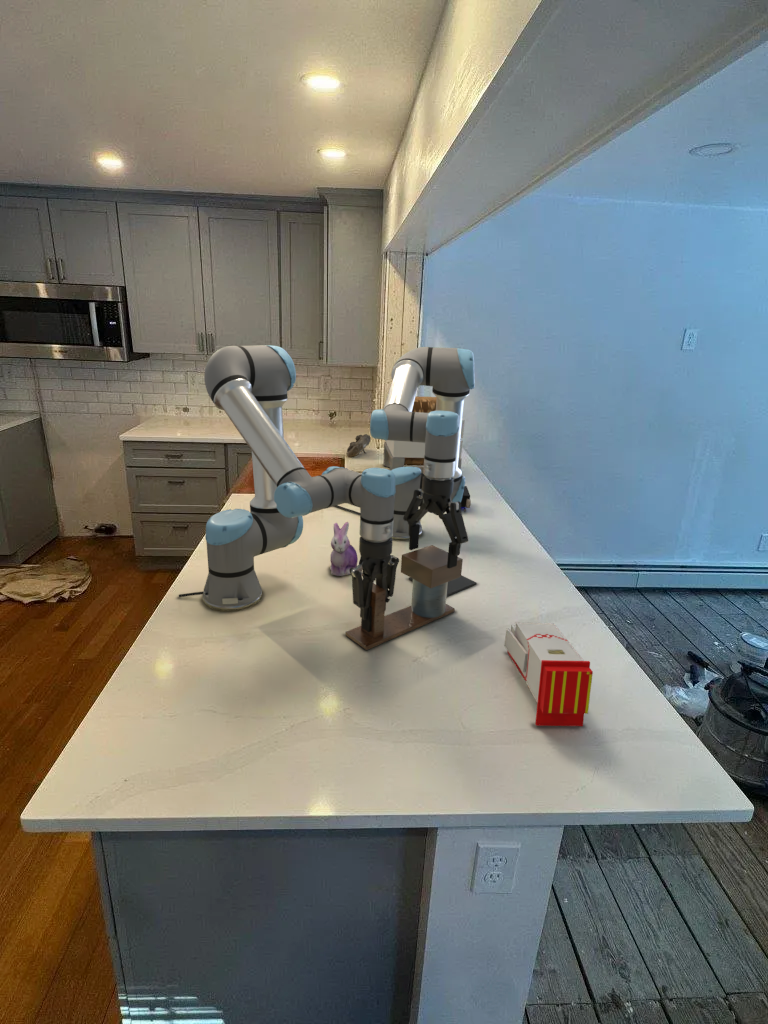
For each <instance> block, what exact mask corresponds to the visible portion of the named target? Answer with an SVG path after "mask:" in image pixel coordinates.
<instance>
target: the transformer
mask: <svg viewBox="0 0 768 1024" xmlns="http://www.w3.org/2000/svg"><path fill="white" fill-rule="evenodd" d="M436 400H437V397H436V396H417V395H416V396H415V400H414V405H413V409H412V412H421V413H430V412H432V411H436ZM464 429H465V419H464V418H462V426H461V437H460V448H459V459H458V468H459V469H460V470H461V471H462V461H463V460H462V453H463V442H464V441H463V440H462V439H463V438H464V431H465V430H464ZM424 455H425V443H421V442H409V441H393V440H387V441H386V440H384V442H383V466H384V467H388V468H389V470H390V471H391V470H393V469H396V468H400V467H405V466H406V467H417V466H418V467H424Z"/></svg>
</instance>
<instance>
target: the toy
mask: <svg viewBox="0 0 768 1024" xmlns="http://www.w3.org/2000/svg"><path fill="white" fill-rule="evenodd" d="M503 645H504V647H505V649H506V650H507V655H508V656H509V658H510V659H511V662H513V664H514V666H515V667H516V669H517V670H518V672H519V673H520V675H521V676H522V679H523V680H524V681H525V683H526V686H527V687H528V689H529V690H530V693H531V694H532V696H533V698H534V700H535V701H536V703H537V704H536V714H535V722H534V723H535V726H537V727H541V726H542V727H583V726H584V719H585V715H586V714H587V715H588V714H589V706H590V705H589V704H590V699H591V691H592V683H593V682H592V681H593V674H594V673H593V672H594V671H593V670H592V669H591V668H590V667H591V661H590V660H584V659H583V658H582V657H581V655H580V654H579V653H578V651H577V650H576V649H575V648H574V647H573V645H572V644H571V643H570V642H569V640H568V639H567V638H566V636H564V633H562V632H561V630H560V629H559V628H558V627H557V625H556V624H555V623H553V622H515V624H511V625H510V628H506V630H505V638H504V644H503Z"/></svg>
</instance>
